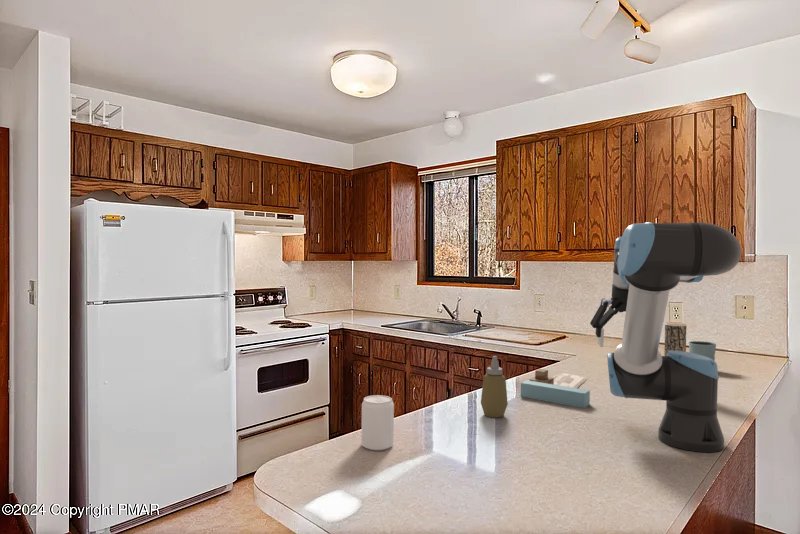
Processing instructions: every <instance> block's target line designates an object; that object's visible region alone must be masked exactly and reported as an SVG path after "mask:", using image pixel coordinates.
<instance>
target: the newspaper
mask: <svg viewBox="0 0 800 534" xmlns="http://www.w3.org/2000/svg"><path fill="white" fill-rule="evenodd" d="M552 378H554V385H559V386H566V387H572V388H578V389H580V387H581V386H582V385H583V384H584V383H585V382H586V381H587V380H588V378H586V377H584V376H580V375H576V374H572V373H571V374H570V373H563V372H562V373H559V374H555V375H554V376H552Z"/></svg>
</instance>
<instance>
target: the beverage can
mask: <svg viewBox="0 0 800 534" xmlns="http://www.w3.org/2000/svg"><path fill="white" fill-rule="evenodd" d="M394 415H395V404H394V401H393V398H392V397H390V396H387V395H385V394H384V395H381V394H377V395H376V394H373V395H368V396H365V397H363V401H362V403H361V441H360V442H361V446H362V447H364V448H366V449H367V450H370V451H384V450H388V449H390V448H391V447H392V446H393V445H394V435H395V434H394V429H395V428H394V427H395V426H394V423H395V421H394V420H395V419H394V418H395V416H394Z"/></svg>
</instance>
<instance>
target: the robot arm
mask: <svg viewBox="0 0 800 534" xmlns="http://www.w3.org/2000/svg"><path fill="white" fill-rule="evenodd" d="M613 249H614V250H613V251H614V253H613V254H614V255H613V272H612V286H611V298H610V299H605V298H602V299H601V300H600V305H599V307H598V308H597V310H596V312H595V313H594V315H593V317H592V319H591V321H590V323H589V325H590V326H591V327H592V328H593V329H595V336H596V337H597V345H598V346H599V347H600V348H604V337H605V336H604V335H605V329H604V327H605V325H606V324H607V323H608V322H609V321H610V320H611V319H612V318H613V317H614V316H615V315H617V314H619V313H623V312H625V316H624V323H623V331H622V337H621V338H622V339H621V343H619V344H618V345H616V348H615V349H614V352H608V353H607V354H606V358H607V360H606V361H607V369H608V379H609V381H608V382H609V391H610V394H612V395H613V396H614V397H619V398H625V399H638V400H653V401H655V400H656V401H666V403H665V404H666V405H665V406H666V407H665V411H664V414H663V416H662V420H661V421H660V424H659V425H658V426H659V427H658V430H657V431H658V435H657V436H658V437H657V438H658V439H659V440H660V441H661V442H662V443H664V444H667V445H668V446H671V447H674V448H677V449H681V450H686V451H690V452H691V451H692V452H698V453H699V452H700V453H716V452H720V451H722V450H725V449H724V448H725V437H724V434H723V431H722V427H721V424H720V422H719V419H718V389H719V386H718V385H719V384H718V383H719V382H718V381H719V373H718V372H719V369H718V364H717V362H716V360H715V361H714V360H713V359H711V358H708V357H705V356H702V355H698V354H694V353H690V351H689V352H688V351H686V352H684V351H674V350H670V351H668V353H667V356H664V355H662V354H661V353H660V351H659V348H660V341H661V337H662V331H663V326H664V320H665V316H666V311H667V307H668V300H669V294H670V291H671V290H673V289H675V288H676V287H677V286H678V285H679V283H700V282H702V281H703V279H704V277H707V276H709V277H710V276H718V275H722V274H726V273H727V272H730V271H731V270H733V269H734V268H735V267H736V266H737V265H738V263H739V262H740V260H741V255H742V248H741V244H740V242H739V239H737V237H736V236H735V235H734V234H733V233H732V231H731V232H730V231H729V230H728V229H726V228H725V227H723V226H720V225H717V224H713V223H710V222H709V223H708V222H654V223H653V222H650V221H648V222H644V223H643V222H642V223H638V222H637V223H632V224H630V225H628V226H627V227H626V228H625V229H624V231H623V233H622V236H619V237H617V238H616V239H615V243H614V247H613ZM607 309H608V310H607Z"/></svg>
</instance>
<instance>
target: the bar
mask: <svg viewBox="0 0 800 534" xmlns="http://www.w3.org/2000/svg"><path fill="white" fill-rule="evenodd" d="M590 395H591V390H589V389H583V388H572V387H566V386H559V385H553V384H547V383H541V382H535V381H529V380H527V379H526V380H524V381H523V382H522V381H521V382H520V397H522V398H528V399H534V400H539V401H545V402H549V403H555V404H560V405H561V404H562V405H565V406H571V407H576V408H583V409H585V408H587V407H588V406H590V404H591V402H590V401H591V399H590V397H591V396H590Z"/></svg>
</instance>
